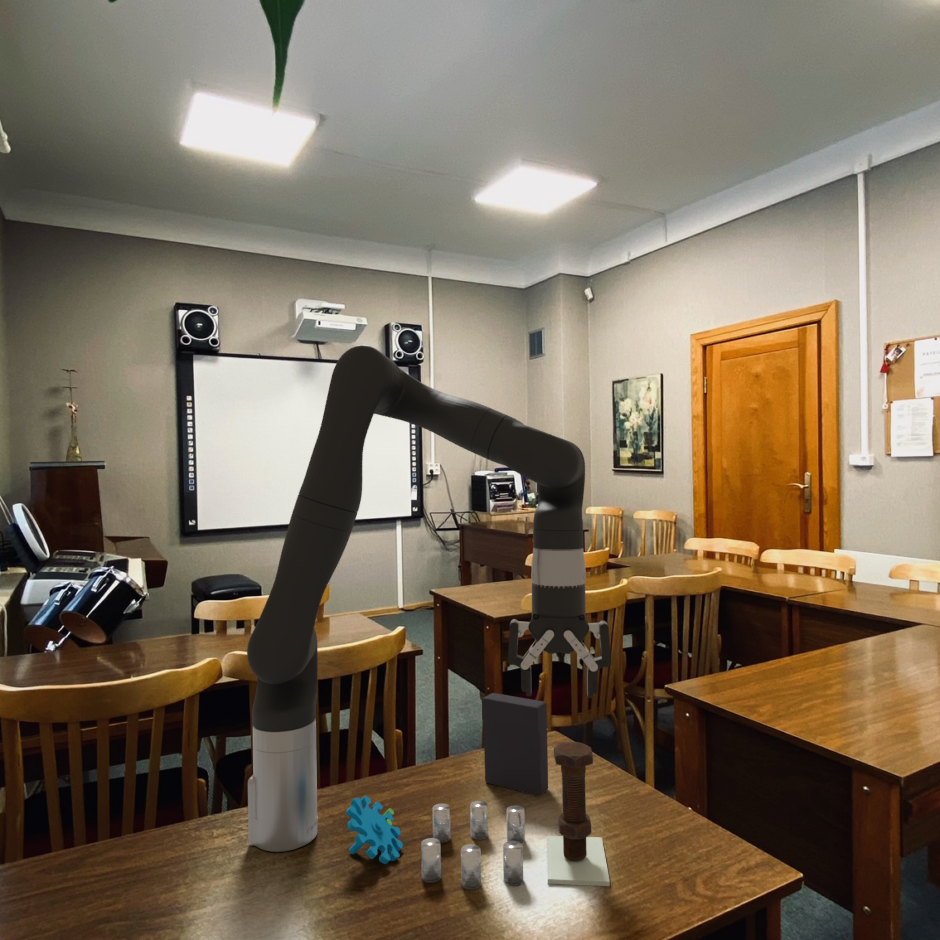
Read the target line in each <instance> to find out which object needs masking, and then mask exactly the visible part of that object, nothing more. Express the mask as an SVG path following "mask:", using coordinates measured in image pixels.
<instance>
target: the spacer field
mask: <svg viewBox="0 0 940 940" xmlns="http://www.w3.org/2000/svg"><path fill="white" fill-rule="evenodd" d="M488 808H489V807H488V803H487V802H486V801H483V800H474V801H472V802H471V803H470V804H469V819H470V820H469V821H470V823H469V824H470V837H471V838H472V839H473V840H476V841H477V840H478V841H479V840H485V839H487V838H488V837H489V825H488V824H489V822H488V821H489V820H488V819H489V817H488V816H489V813H488V811H489V810H488ZM525 826H526V825H525V808H524V807H523V806H520V805H510V806H508V807H506V841H505V842H504V843H503V844H502V855H503V856H502V858H503V859H502V860H503V866H502V867H503V868H502V869H503V882H504V884H506V885H507V886H511V887H517V886H520V885H522V884H523V883H524V857H523V856H524V851H523V850H524V849H523V848H524V846H523V844H525V842H526V837H525V835H526V834H525V833H526V832H525V831H526V830H525ZM450 840H451V807H450V805H449V804H447V803H437V804H434V805H433V806H432V837H430V838H429V837H428V838H425V839H423V840H422V841H421V842H420V855H421V856H420V857H421V858H420V859H421V861H420V863H421V880H422V881H423V882H425V883H428V884H429V883H430V884H432V883H437V882H438V881H440V880H441V879H442V867H441V866H442V862H441V861H442V858H441V856H442V855H441V852H442V851H441V844H443V843H446V842H449V841H450ZM481 855H482V852H481V847H480V845H478V844H473V843H469V844H464V845H463V846H461V848H460V876H461V877H460V878H461V879H460V880H461V881H460V882H461V886H462V888H463V889H465V890H469V891H470V890H471V891H473V890H477V889H479V888H480V887H481V886H482V865H481V863H482V862H481V861H482V858H481Z"/></svg>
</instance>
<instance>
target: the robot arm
mask: <svg viewBox="0 0 940 940" xmlns="http://www.w3.org/2000/svg"><path fill="white" fill-rule="evenodd" d="M328 387H329V388H328V392H327V397H326V401H325V406H324V410H323V415H322V419H321V424H320V427H319V432H318V435H317V437H316V441H315V443H314V447H313V449H312V453H311V456H310V459H309V463H308V465H307V469H306V472H305V476H304V478H303V481H302V482H301V483H302V484H301V487H300V488H299V491H298V494H297V496H296V499H295V504H294V507H293V509H292V513H291V515H290V519H289V523H288V527H287V531H286V535H285V537H284V541H283V545H282V549H281V553H280V557H279V562H278V566H277V571H276V575H275V577H274V581H273V584H272V585H273V586H272V587H271V590H270V592H269V595H268V598H267V600H266V602H265V604H264V606H263V609H262V611H261V614H260V616H259V618H258V620H257V623H256V625H255V627H254V629H253V631H252V633H251V635H250V638H249V640H248V644H247V647H246V656H247V662H248V667H250V670H251V672H252V673H253V674H254V676H255V677H256V688H255V696H254V700H253V704H252V709H251V710H252V712H251V713H252V714H251V715H252V717H251V719H252V721H251V723H252V760H253V761H252V766H253V767H252V771H253V773H252V775H251V776H250V777H249V778H248V780H247V815H248V816H247V817H248V818H247V819H248V820H247V822H248V824H247V826H248V831H247V832H248V846H255V847H257V848H259V849H260V850H263V851H266V852H276V853H277V852H278V853H279V852H288V851H292V850H296V849H298V848H301V847H304V846H306V845H307V844H309V843H310V842H312V841H313V840H314V839H315V838H316V837H317V834H318V822H319V821H318V820H319V819H318V786H317V784H318V783H317V782H318V781H317V780H318V778H317V777H318V776H317V774H318V772H317V771H318V770H317V769H318V768H317V725H316V724H317V721H316V714H317V713H316V710H317V709H316V708H317V707H316V706H317V701H318V700H317V699H318V685H319V684H318V674H319V673H318V668H319V667H318V665H319V664H318V663H319V662H318V660H319V659H318V658H319V657H318V655H319V653H318V638H317V632H316V629H315V625H316V621H317V617H318V613H319V610H320V605H321V602H322V598H323V597H324V593H325V591H326V589H327V587H328V584H329V582H330V581H331V578H332V576H333V575H334V573H335V570H336V569H337V567H338V564H339V563H340V560H341V558H342V556H343V554H344V552H345V549H346V547H347V545H348V541H349V540H350V538H351V537H350V536H351V533H352V531H353V528H354V525H355V521H356V519H357V515H358V512H359V510H360V506H361V501H362V497H363V496H362V495H363V454H364V447H365V442H366V437H367V433H368V431H369V428H370V425H371V422H372V419H373V417H374V415H379V416H382V417H387V418H390V419H395V420H398V421H402V422H406V423H408V424H412V425H414V426H418V427H420V428H422V429H424V430H426V431H429V432H430V433H433V434H435V435H437V436H439V437H441V438H443V439H445V441H448V442H451V443H452V444H454V445H456V446H458V447H460V448H462V449H463V450H467V451H468V452H470V453H473V454H475V455H478V456H479V457H482V458H484V459H486V460H489V461H491V462H493V463H496V464H499V465H502V466H504V467H507V468H508V469H510V470H512V471H514V472H515V473H517V474H519V475H520V476H522V477H524V478H526V479H528V480H530V481H532V482H534V483H536V484H537V486H538V488H537V489H538V490H537V501H538V502H537V506H536V509H535V512H534V515H533V519H532V520H533V521H532V526H533V527H532V547H533V548H532V558H531V572H530V573H531V574H530V579H531V618H530V620H529V621H519V620H518V619H516V618H513V619H512V620H510V623H509V628H508V629H509V630H508V647H507V648H508V653H507V663H508V664H509V665H510V666H515V667H518V668H519V669H520V688H521V691H522V692H523V693H525V695H526V697H532V666H531V665H533V663H534V662H535V660H536V659H538V657H539V656H540V654H542V652H545V653H547V654H551V655H552V654H556V653H561V654H565V655H570V654H571V653H573V652H575V653H576V654H577V655H578V656H579V658H580V659H581V660H582V661H583V662H584V664H585V665H586V666H587V667H586V695H587V698H588V699H594V695H597V693H598V690H599V688H598V687H599V681H598V676H599V671H600V670H601V669H603V668H608V667H610V666H611V665H612V659H611V656H612V655H611V641H610V630H609V625H608V623H607V621H605V620H604V619H602V620H600V621H599V622H588V621H587V616H586V613H587V612H586V579H587V573H586V560H585V554H584V523H583V506H584V505H583V504H584V494H585V482H586V463H585V457H584V454H583V452H582V450H581V449H580V447H578V445H576V444H575V443H573V442H572V441H570V440H567V439H564V438H561V437H558V436H556V435H554V434H550V433H548V432H545V431H543V430H541V429H537V428H535V427H532V426H529V425H526V424H524V423H523V422H521V421H520V420H518V419H516V418H514V417H512V416H511V415H508V414H505V413H503V412H501V411H499V410H496V409H493V408H491V407H489V406H486V405H484V404H481V403H479V402H475V401H472V400H469V399H465V398H462V397H458V396H456V395H451V394H448V393H445V392H443V391H439V390H438V389H434V388H432V387H430V386H428V385H426V384H425V383H423V382H421V381H419V380H418V379H416V378H415V377H413V376H412V375H410V374H409V373H407V372H405V371H404V370H403V369H401V368H400V367H399V366H398V365H397V364H396V362H395V361H393V360H392V359H391V358H389V357H388V356H387V355H385V353H383V352H381V351H380V350H378V348H375V347H374V346H371V345H368V344H358V345H354V346H352V347H350V348H349V349H347V350H346V351H345V352H343V353H342V355H340V357H339V358H338V360H337V362H336V363H335V366H334V368H333V370H332V374H331V377H330V382H329V386H328ZM526 631H528V632H529V633H530V635H531V636H532V637H533V639H534V641H533V642H532V644H531V645H530V647H529V648H528V650H527V651H526V652H525V654H524V655H523V656H522V655H520V654H518V650H519V649H518V646H519V645H518V644H519V638H522V637H523V636H524V633H525V632H526ZM589 632H591V633H593V636H594V638H595V639H598V640H599V649H600V656H597V657H594V656H593V655H592V653H591V652H590V651H589V649H588V648H587V646H586V645H585V643H584V642H583V640H584V639H585V638H586V637H587V635H588V634H589Z"/></svg>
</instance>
